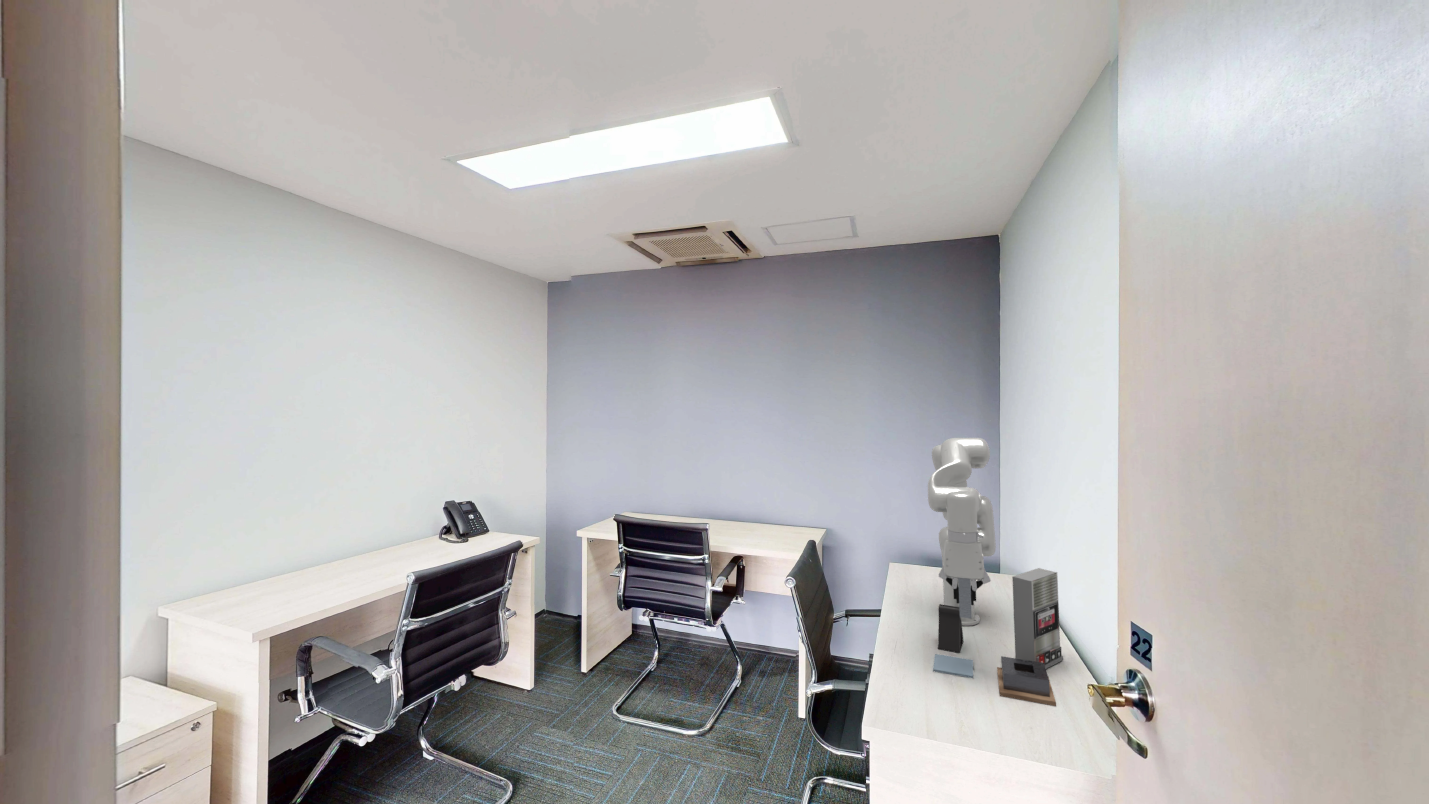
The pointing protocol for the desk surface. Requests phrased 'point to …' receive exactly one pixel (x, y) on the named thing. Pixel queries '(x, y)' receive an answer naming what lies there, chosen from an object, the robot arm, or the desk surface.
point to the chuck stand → (1023, 695)
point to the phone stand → (950, 629)
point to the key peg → (965, 598)
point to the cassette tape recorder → (1037, 617)
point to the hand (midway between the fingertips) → (964, 602)
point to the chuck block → (1025, 676)
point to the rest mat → (953, 665)
